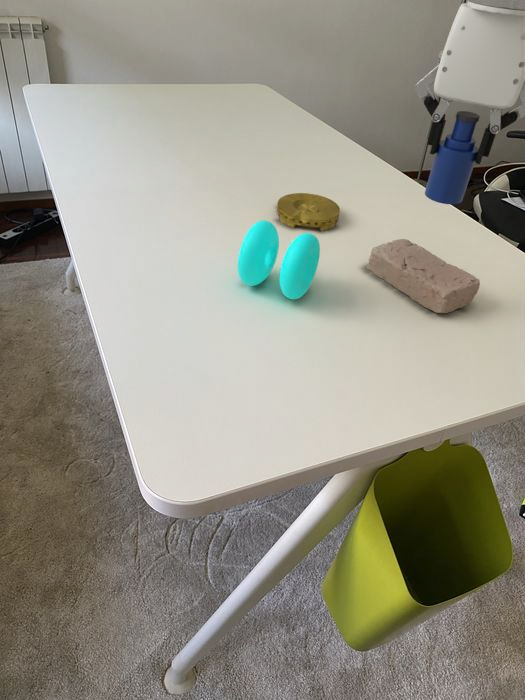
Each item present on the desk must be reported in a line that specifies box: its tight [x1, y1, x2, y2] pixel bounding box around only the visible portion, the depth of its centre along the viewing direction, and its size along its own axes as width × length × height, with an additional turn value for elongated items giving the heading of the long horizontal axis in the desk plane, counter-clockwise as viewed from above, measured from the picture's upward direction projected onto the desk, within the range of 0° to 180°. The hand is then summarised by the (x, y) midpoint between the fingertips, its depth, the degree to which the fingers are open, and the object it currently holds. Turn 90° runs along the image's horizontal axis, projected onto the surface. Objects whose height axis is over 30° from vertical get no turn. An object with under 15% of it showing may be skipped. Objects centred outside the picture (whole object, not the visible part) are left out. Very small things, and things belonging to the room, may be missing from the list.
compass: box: [276, 192, 341, 232], centre depth 106 cm, size 12×12×2 cm
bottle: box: [424, 110, 481, 205], centre depth 73 cm, size 5×5×11 cm
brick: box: [366, 238, 481, 314], centre depth 88 cm, size 17×8×5 cm, turn 35°
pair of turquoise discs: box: [237, 220, 321, 300], centre depth 82 cm, size 10×10×10 cm
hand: (456, 154), depth 73 cm, fingers closed on bottle, 5 cm apart
